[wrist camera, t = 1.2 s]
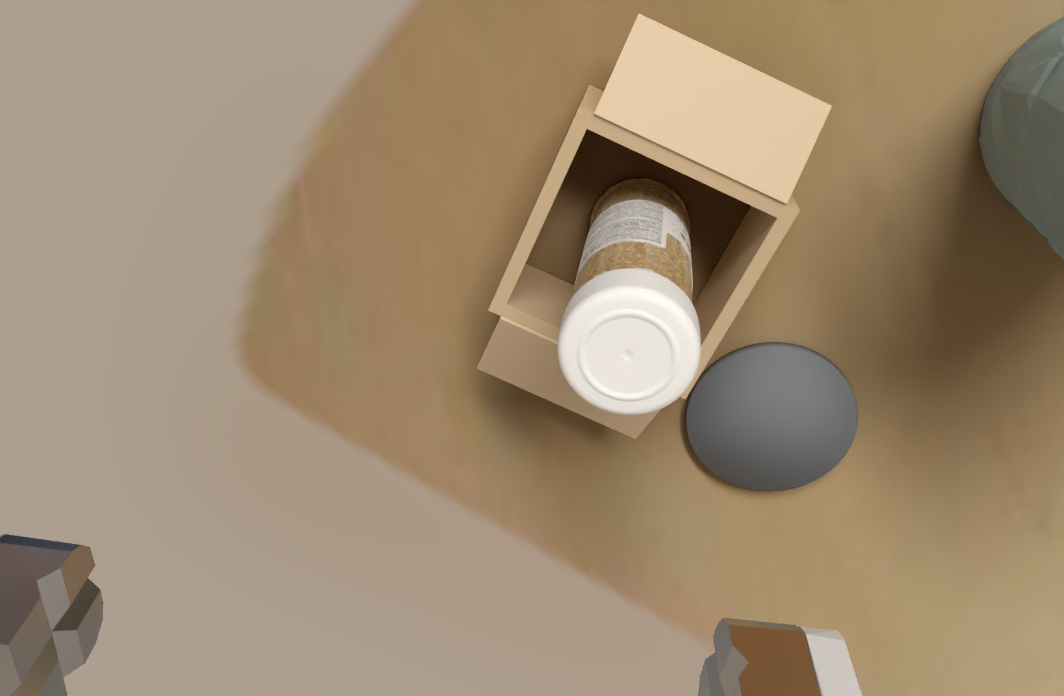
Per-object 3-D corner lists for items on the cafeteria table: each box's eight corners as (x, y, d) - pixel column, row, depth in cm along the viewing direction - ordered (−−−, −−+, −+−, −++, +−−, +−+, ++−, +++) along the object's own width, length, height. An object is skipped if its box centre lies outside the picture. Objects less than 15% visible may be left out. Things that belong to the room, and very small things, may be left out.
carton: (830, 96, 36) (854, 122, 31) (648, 407, 43) (646, 464, 39) (627, -2, 35) (622, 10, 31) (479, 331, 43) (456, 380, 38)
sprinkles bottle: (688, 272, 40) (698, 423, 28) (588, 271, 40) (557, 418, 29) (692, 173, 38) (705, 290, 26) (587, 174, 38) (553, 288, 27)
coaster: (889, 385, 41) (892, 391, 40) (799, 507, 45) (800, 514, 44) (736, 315, 40) (737, 320, 40) (658, 444, 44) (658, 451, 44)
